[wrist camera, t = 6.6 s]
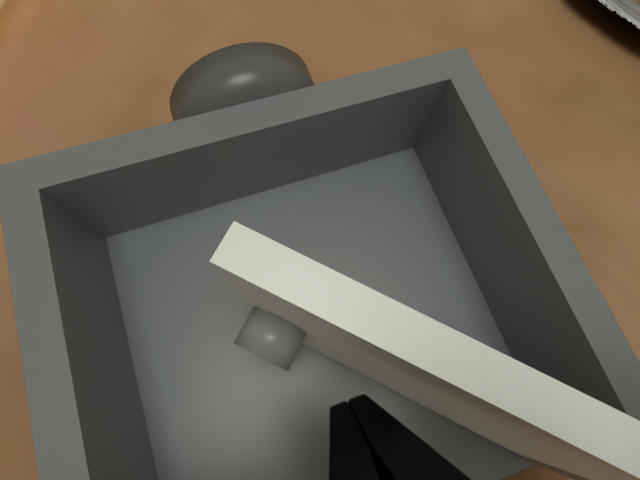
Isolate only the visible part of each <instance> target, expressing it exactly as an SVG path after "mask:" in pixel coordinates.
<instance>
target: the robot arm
mask: <svg viewBox="0 0 640 480" xmlns="http://www.w3.org/2000/svg"><path fill="white" fill-rule="evenodd" d="M329 480H472V479H470V478H469V477H468V476H467V475H465V474H464V473H463V472H462V471H460V470H459V469H458V468H457V467H455V466H454V465H453V464H452V463H451V462H449V461H448V460H447V459H446V458H444V457H443V456H442V455H441V454H439V453H438V452H437V451H436V450H434V449H433V448H432V447H431V446H429V445H428V444H427V443H426V442H424V441H423V440H422V439H421V438H420V437H418V436H417V435H416V434H415V433H413V432H412V431H411V430H410V429H408V428H407V427H406V426H405V425H403V424H402V423H401V422H400V421H398V420H397V419H396V418H395V417H393V416H392V415H391V414H390V413H389V412H387V411H386V410H385V409H384V408H382V407H381V406H380V405H379V404H377V403H376V402H375V401H374V400H372V399H371V398H370V397H369V396H367V395H366V394H361V395H358V396H356V397H353V398H350V399H349V400H348V402H347V401H343V402H340V403H338V404H335V405H333V406H331V407H330V411H329Z"/></svg>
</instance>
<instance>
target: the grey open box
mask: <svg viewBox="0 0 640 480" xmlns="http://www.w3.org/2000/svg"><path fill="white" fill-rule="evenodd" d="M170 110H171V114H172V117H173V121H172V122H169V123H165V124H161V125H157V126H153V127H149V128H145V129H141V130H137V131H133V132H129V133H126V134H122V135H118V136H114V137H110V138H106V139H102V140H98V141H94V142H90V143H86V144H83V145H79V146H75V147H71V148H67V149H63V150H59V151H55V152H51V153H47V154H43V155H40V156H36V157H32V158H28V159H24V160H20V161H16V162H12V163H8V164H4V165H0V213H1V220H2V227H3V234H4V241H5V248H6V255H7V262H8V269H9V276H10V283H11V290H12V296H13V303H14V310H15V317H16V324H17V331H18V338H19V345H20V352H21V359H22V366H23V372H24V379H25V386H26V393H27V400H28V407H29V414H30V421H31V428H32V435H33V442H34V448H35V455H36V462H37V469H38V476H39V480H329V411H330V407H331V406H333V405H335V404H338V403H340V402H343V401H347V402H348V400H349V399H350V398H353V397H356V396H358V395H361V394H366V395H367V396H369V397H370V398H371V399H372V400H374V401H375V402H376V403H377V404H379V405H380V406H381V407H382V408H384V409H385V410H386V411H387V412H389V413H390V414H391V415H392V416H393V417H395V418H396V419H397V420H398V421H400V422H401V423H402V424H403V425H405V426H406V427H407V428H408V429H410V430H411V431H412V432H413V433H415V434H416V435H417V436H418V437H420V438H421V439H422V440H423V441H424V442H426V443H427V444H428V445H429V446H431V447H432V448H433V449H434V450H436V451H437V452H438V453H439V454H441V455H442V456H443V457H444V458H446V459H447V460H448V461H449V462H451V463H452V464H453V465H454V466H455V467H457V468H458V469H459V470H460V471H462V472H463V473H464V474H465V475H467V476H468V477H469V478H470V479H472V480H502V479H504V478H506V477H508V476H511V475H513V474H515V473H517V472H519V471H522V470H524V469H526V468H528V467H530V466H533V465H535V464H533V463H530V462H527V461H525V460H522V459H521V458H519V457H518V456H517V455H516V453H514V452H512V451H510V450H509V449H507V448H505V447H503V446H501V445H499V444H497V443H495V442H493V441H491V440H489V439H487V438H485V437H483V436H481V435H479V434H477V433H475V432H473V431H471V430H469V429H468V428H466V427H464V426H462V425H460V424H458V423H456V422H454V421H452V420H450V419H448V418H446V417H444V416H442V415H440V414H438V413H436V412H434V411H432V410H430V409H428V408H426V407H425V406H423V405H421V404H419V403H417V402H415V401H413V400H411V399H409V398H407V397H405V396H403V395H401V394H399V393H397V392H395V391H393V390H391V389H389V388H387V387H385V386H384V385H382V384H380V383H378V382H376V381H374V380H372V379H370V378H368V377H366V376H364V375H362V374H360V373H358V372H356V371H354V370H352V369H350V368H348V367H346V366H344V365H343V364H341V363H339V362H337V361H335V360H333V359H331V358H329V357H327V356H325V355H323V354H321V353H319V352H317V351H315V350H313V349H311V348H309V347H307V346H305V345H303V344H301V346H300V349H299V351H298V353H297V355H296V357H295V359H294V361H293V363H292V365H291V367H290V369H289V371H286V370H284V369H282V368H280V367H278V366H276V365H275V364H273V363H271V362H269V361H267V360H265V359H263V358H261V357H259V356H257V355H255V354H253V353H251V352H250V351H248V350H246V349H244V348H242V347H240V346H238V345H236V344H234V341H235V339H236V337H237V335H238V334H239V332H240V330H241V328H242V326H243V324H244V323H245V321H246V319H247V317H248V315H249V314H248V313H247V312H246V310H245V309H244V308H243V306H242V305H241V304H240V302H239V301H238V300H237V298H236V297H235V296H234V294H233V293H232V291H231V290H230V289H229V287H228V286H227V285H226V283H225V282H224V281H223V279H222V278H221V277H220V275H219V274H218V273H217V271H216V270H215V269H214V267H213V266H212V264H211V263H210V262H209V261H210V259H211V258H212V256H213V254H214V253H215V251H216V249H217V248H218V246H219V244H220V243H221V241H222V240H223V238H224V236H225V235H226V233H227V231H228V230H229V228H230V226H231V225H232V223H233V221H235V222H237V223H239V224H241V225H243V226H245V227H247V228H249V229H251V230H254V231H256V232H258V233H260V234H262V235H264V236H266V237H268V238H270V239H272V240H274V241H276V242H278V243H280V244H282V245H284V246H286V247H288V248H290V249H292V250H294V251H296V252H298V253H300V254H302V255H304V256H306V257H308V258H310V259H312V260H314V261H316V262H318V263H320V264H323V265H325V266H327V267H329V268H331V269H333V270H335V271H337V272H339V273H341V274H343V275H345V276H347V277H349V278H351V279H353V280H355V281H357V282H359V283H361V284H363V285H365V286H367V287H369V288H371V289H373V290H375V291H377V292H379V293H381V294H383V295H385V296H387V297H389V298H392V299H394V300H396V301H398V302H400V303H402V304H404V305H406V306H408V307H410V308H412V309H414V310H416V311H418V312H420V313H422V314H424V315H426V316H428V317H430V318H432V319H434V320H436V321H438V322H440V323H442V324H444V325H446V326H448V327H450V328H452V329H454V330H456V331H458V332H460V333H463V334H465V335H467V336H469V337H471V338H473V339H475V340H477V341H479V342H481V343H483V344H485V345H487V346H489V347H491V348H493V349H495V350H497V351H499V352H501V353H503V354H505V355H507V356H509V357H511V358H513V359H515V360H517V361H519V362H521V363H523V364H525V365H527V366H529V367H532V368H534V369H536V370H538V371H540V372H542V373H544V374H546V375H548V376H550V377H552V378H554V379H556V380H558V381H560V382H562V383H564V384H566V385H568V386H570V387H572V388H574V389H576V390H578V391H580V392H582V393H584V394H586V395H588V396H590V397H592V398H594V399H596V400H598V401H601V402H603V403H605V404H607V405H609V406H611V407H613V408H615V409H617V410H619V411H621V412H623V413H625V414H627V415H629V416H631V417H633V418H635V419H637V420H639V421H640V363H639V361H638V359H637V358H636V356H635V354H634V352H633V350H632V348H631V347H630V345H629V343H628V341H627V339H626V338H625V336H624V334H623V332H622V330H621V329H620V327H619V325H618V323H617V321H616V320H615V318H614V316H613V314H612V312H611V311H610V309H609V307H608V305H607V303H606V301H605V300H604V298H603V296H602V294H601V292H600V291H599V289H598V287H597V285H596V283H595V282H594V280H593V278H592V276H591V274H590V273H589V271H588V269H587V267H586V265H585V264H584V262H583V260H582V258H581V256H580V254H579V253H578V251H577V249H576V247H575V245H574V244H573V242H572V240H571V238H570V236H569V235H568V233H567V231H566V229H565V227H564V226H563V224H562V222H561V220H560V218H559V217H558V215H557V213H556V211H555V209H554V207H553V206H552V204H551V202H550V200H549V198H548V197H547V195H546V193H545V191H544V189H543V188H542V186H541V184H540V182H539V180H538V179H537V177H536V175H535V173H534V171H533V170H532V168H531V166H530V164H529V162H528V160H527V159H526V157H525V155H524V153H523V151H522V150H521V148H520V146H519V144H518V142H517V141H516V139H515V137H514V135H513V133H512V132H511V130H510V128H509V126H508V124H507V123H506V121H505V119H504V117H503V115H502V113H501V112H500V110H499V108H498V106H497V104H496V103H495V101H494V99H493V97H492V95H491V94H490V92H489V90H488V88H487V86H486V85H485V83H484V81H483V79H482V77H481V76H480V74H479V72H478V70H477V68H476V66H475V65H474V63H473V61H472V59H471V57H470V56H469V54H468V52H467V50H466V48H465V47H462V48H458V49H454V50H450V51H446V52H442V53H438V54H435V55H431V56H427V57H423V58H419V59H415V60H411V61H407V62H403V63H399V64H395V65H392V66H388V67H384V68H380V69H376V70H372V71H368V72H364V73H360V74H356V75H352V76H348V77H345V78H341V79H337V80H333V81H329V82H325V83H321V84H317V85H314V82H313V80H312V78H311V75H310V73H309V70H308V68H307V66H306V64H305V62H304V61H303V60H302V58H300V57H299V56H298V55H297V54H296V53H294V52H293V51H291V50H290V49H287V48H285V47H283V46H279V45H276V44H271V43H261V42H252V43H242V44H236V45H232V46H228V47H225V48H222V49H219V50H217V51H214V52H212V53H210V54H208V55H206V56H204V57H202V58H201V59H199V60H198V61H196V62H195V63H194V64H192V65H191V66H190V67H189V68H188V69H187V70H186V71H185V72H184V73H183V74H182V75H181V76H180V78H179V79H178V80H177V82H176V83H175V86H174V88H173V90H172V93H171V97H170Z"/></svg>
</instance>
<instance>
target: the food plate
mask: <svg viewBox="0 0 640 480" xmlns="http://www.w3.org/2000/svg"><path fill="white" fill-rule="evenodd" d="M599 2H601V3H602V4H603V5H604V6H606V7H607V8H608V9H609V10H611V11H616V12H617V14H619V16H621V17H622V18H627V21H629V22H633V24H635V25H636V27H637V28H638V29H640V0H599Z"/></svg>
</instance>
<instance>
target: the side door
mask: <svg viewBox="0 0 640 480" xmlns="http://www.w3.org/2000/svg"><path fill="white" fill-rule="evenodd" d="M209 262H210V263H211V264H212V266H213V267H214V269H215V270H216V271H217V273H218V274H219V275H220V277H221V278H222V279H223V281H224V282H225V283H226V285H227V286H228V287H229V289H230V290H231V291H232V293H233V294H234V296H235V297H236V298H237V300H238V301H239V302H240V304H241V305H242V306H243V308H244V309H245V310H246V312H247V313H248V314H249V315H248V317H247V319H246V321H245V323H244V324H243V326H242V328H241V330H240V332H239V334H238V335H237V337H236V339H235V341H234V344H236V345H238V346H240V347H242V348H244V349H246V350H248V351H250V352H251V353H253V354H255V355H257V356H259V357H261V358H263V359H265V360H267V361H269V362H271V363H273V364H275V365H276V366H278V367H280V368H282V369H284V370H286V371H289V369H290V367H291V365H292V363H293V361H294V359H295V357H296V355H297V353H298V351H299V349H300V346H301V344H303V345H305V346H307V347H309V348H311V349H313V350H315V351H317V352H319V353H321V354H323V355H325V356H327V357H329V358H331V359H333V360H335V361H337V362H339V363H341V364H343V365H344V366H346V367H348V368H350V369H352V370H354V371H356V372H358V373H360V374H362V375H364V376H366V377H368V378H370V379H372V380H374V381H376V382H378V383H380V384H382V385H384V386H385V387H387V388H389V389H391V390H393V391H395V392H397V393H399V394H401V395H403V396H405V397H407V398H409V399H411V400H413V401H415V402H417V403H419V404H421V405H423V406H425V407H426V408H428V409H430V410H432V411H434V412H436V413H438V414H440V415H442V416H444V417H446V418H448V419H450V420H452V421H454V422H456V423H458V424H460V425H462V426H464V427H466V428H468V429H469V430H471V431H473V432H475V433H477V434H479V435H481V436H483V437H485V438H487V439H489V440H491V441H493V442H495V443H497V444H499V445H501V446H503V447H505V448H507V449H509V450H510V451H512V452H514V453H516V455H517V456H518V457H519V458H521V459H522V460H525V461H527V462H530V463H533V464H535V465H538V466H541V467H543V468H546V469H548V470H551V471H554V472H556V473H559V474H562V475H564V476H567V477H570V478H572V479H575V480H640V421H639V420H637V419H635V418H633V417H631V416H629V415H627V414H625V413H623V412H621V411H619V410H617V409H615V408H613V407H611V406H609V405H607V404H605V403H603V402H601V401H598V400H596V399H594V398H592V397H590V396H588V395H586V394H584V393H582V392H580V391H578V390H576V389H574V388H572V387H570V386H568V385H566V384H564V383H562V382H560V381H558V380H556V379H554V378H552V377H550V376H548V375H546V374H544V373H542V372H540V371H538V370H536V369H534V368H532V367H529V366H527V365H525V364H523V363H521V362H519V361H517V360H515V359H513V358H511V357H509V356H507V355H505V354H503V353H501V352H499V351H497V350H495V349H493V348H491V347H489V346H487V345H485V344H483V343H481V342H479V341H477V340H475V339H473V338H471V337H469V336H467V335H465V334H463V333H460V332H458V331H456V330H454V329H452V328H450V327H448V326H446V325H444V324H442V323H440V322H438V321H436V320H434V319H432V318H430V317H428V316H426V315H424V314H422V313H420V312H418V311H416V310H414V309H412V308H410V307H408V306H406V305H404V304H402V303H400V302H398V301H396V300H394V299H392V298H389V297H387V296H385V295H383V294H381V293H379V292H377V291H375V290H373V289H371V288H369V287H367V286H365V285H363V284H361V283H359V282H357V281H355V280H353V279H351V278H349V277H347V276H345V275H343V274H341V273H339V272H337V271H335V270H333V269H331V268H329V267H327V266H325V265H323V264H320V263H318V262H316V261H314V260H312V259H310V258H308V257H306V256H304V255H302V254H300V253H298V252H296V251H294V250H292V249H290V248H288V247H286V246H284V245H282V244H280V243H278V242H276V241H274V240H272V239H270V238H268V237H266V236H264V235H262V234H260V233H258V232H256V231H254V230H251V229H249V228H247V227H245V226H243V225H241V224H239V223H237V222H235V221H233V223H232V225H231V226H230V228H229V230H228V231H227V233H226V235H225V236H224V238H223V240H222V241H221V243H220V244H219V246H218V248H217V249H216V251H215V253H214V254H213V256H212V258H211V259H210V261H209Z"/></svg>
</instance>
